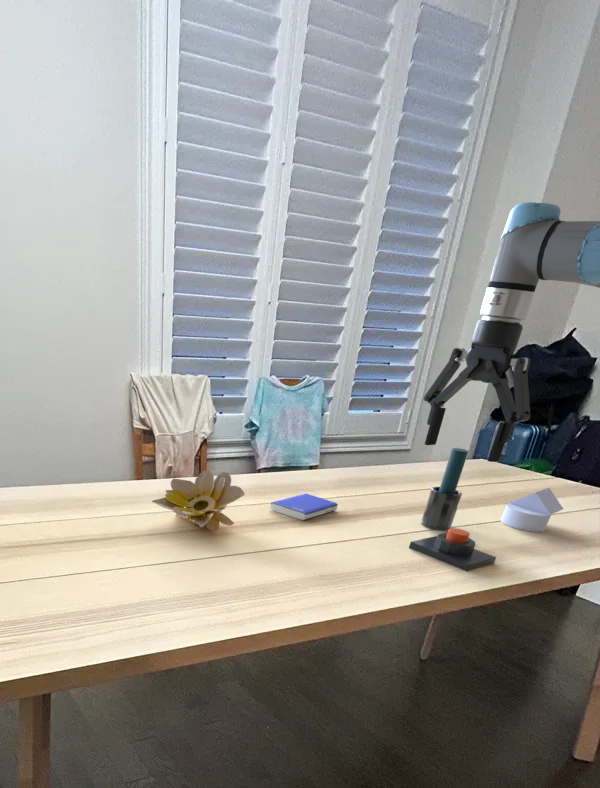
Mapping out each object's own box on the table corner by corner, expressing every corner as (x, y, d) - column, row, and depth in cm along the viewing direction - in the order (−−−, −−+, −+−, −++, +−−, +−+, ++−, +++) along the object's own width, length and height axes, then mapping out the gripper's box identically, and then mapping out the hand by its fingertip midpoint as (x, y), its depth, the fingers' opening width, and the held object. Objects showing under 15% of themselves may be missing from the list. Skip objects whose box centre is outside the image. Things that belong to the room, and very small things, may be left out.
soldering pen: (447, 524, 127) (471, 451, 119) (438, 526, 126) (462, 452, 118) (434, 520, 129) (457, 447, 121) (426, 521, 127) (449, 448, 120)
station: (494, 563, 112) (500, 547, 110) (466, 571, 107) (472, 554, 105) (436, 541, 119) (441, 525, 118) (408, 548, 114) (413, 531, 113)
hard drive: (305, 512, 121) (338, 503, 129) (270, 501, 125) (304, 492, 133) (303, 520, 122) (336, 510, 130) (269, 509, 126) (303, 500, 134)
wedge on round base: (516, 512, 143) (494, 521, 135) (528, 482, 140) (506, 489, 131) (557, 524, 139) (536, 534, 130) (570, 493, 135) (550, 501, 127)
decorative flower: (136, 504, 113) (152, 447, 108) (178, 511, 121) (195, 457, 117) (193, 536, 105) (212, 476, 101) (234, 541, 114) (254, 485, 109)
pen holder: (455, 528, 128) (467, 493, 124) (439, 532, 124) (451, 496, 120) (431, 520, 131) (442, 485, 127) (415, 523, 128) (425, 488, 124)
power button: (470, 543, 112) (473, 533, 111) (459, 546, 110) (462, 536, 109) (452, 536, 114) (455, 527, 113) (441, 539, 112) (444, 529, 111)
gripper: (426, 312, 113) (394, 439, 125) (562, 327, 98) (511, 470, 110) (450, 315, 117) (417, 437, 129) (583, 329, 102) (532, 467, 114)
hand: (460, 452), depth 120 cm, fingers open, 13 cm apart
